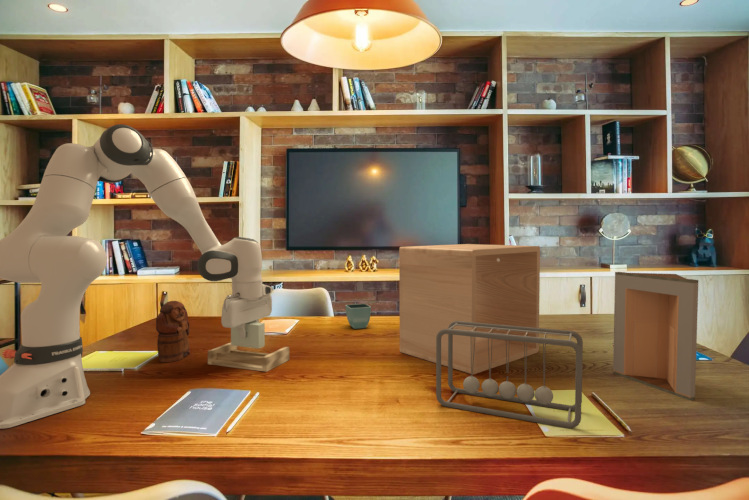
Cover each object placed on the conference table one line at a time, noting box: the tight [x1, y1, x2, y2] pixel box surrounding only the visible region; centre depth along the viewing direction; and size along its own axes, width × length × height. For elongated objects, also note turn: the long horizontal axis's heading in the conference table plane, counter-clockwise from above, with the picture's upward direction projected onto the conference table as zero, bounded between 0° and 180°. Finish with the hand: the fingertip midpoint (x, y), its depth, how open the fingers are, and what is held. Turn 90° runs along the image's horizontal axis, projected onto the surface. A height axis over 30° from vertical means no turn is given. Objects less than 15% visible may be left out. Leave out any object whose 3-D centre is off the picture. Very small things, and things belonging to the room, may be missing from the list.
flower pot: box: [345, 303, 372, 330], centre depth 180 cm, size 9×9×9 cm
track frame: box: [207, 342, 290, 373], centre depth 134 cm, size 12×21×4 cm, turn 69°
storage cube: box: [398, 243, 541, 375], centre depth 143 cm, size 34×29×34 cm
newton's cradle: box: [435, 321, 584, 429], centre depth 99 cm, size 30×10×18 cm, turn 64°
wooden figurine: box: [155, 300, 191, 363], centre depth 139 cm, size 12×6×18 cm, turn 175°
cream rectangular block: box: [230, 322, 266, 349], centre depth 134 cm, size 3×10×7 cm, turn 69°
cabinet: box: [612, 271, 699, 401], centre depth 113 cm, size 21×10×28 cm, turn 21°
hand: (248, 336), depth 134 cm, fingers closed on cream rectangular block, 3 cm apart
